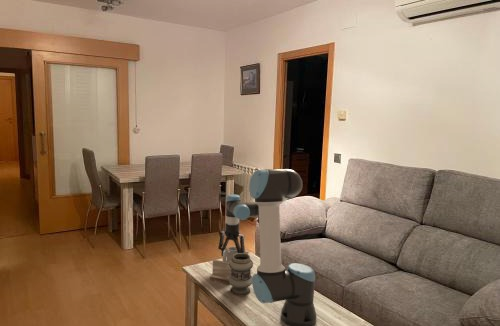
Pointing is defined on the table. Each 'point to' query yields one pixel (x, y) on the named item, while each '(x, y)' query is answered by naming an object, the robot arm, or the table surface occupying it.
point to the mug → (229, 253)
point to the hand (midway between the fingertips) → (231, 263)
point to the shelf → (221, 271)
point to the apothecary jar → (240, 274)
